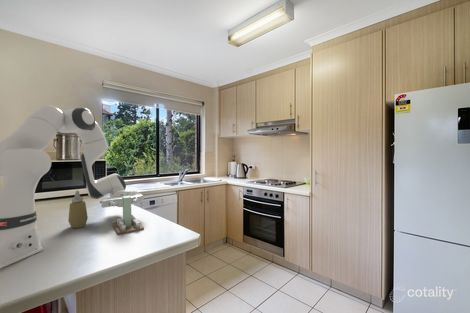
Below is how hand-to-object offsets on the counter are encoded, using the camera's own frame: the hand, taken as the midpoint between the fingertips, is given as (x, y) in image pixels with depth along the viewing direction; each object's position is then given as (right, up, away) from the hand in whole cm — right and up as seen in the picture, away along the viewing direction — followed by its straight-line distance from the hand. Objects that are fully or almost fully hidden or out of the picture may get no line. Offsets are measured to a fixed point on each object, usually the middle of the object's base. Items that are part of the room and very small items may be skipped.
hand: (125, 203), depth 112 cm
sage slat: (+3, -10, -3) cm, 11 cm away
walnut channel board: (+3, -11, -3) cm, 12 cm away
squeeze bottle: (-23, -12, -1) cm, 26 cm away
